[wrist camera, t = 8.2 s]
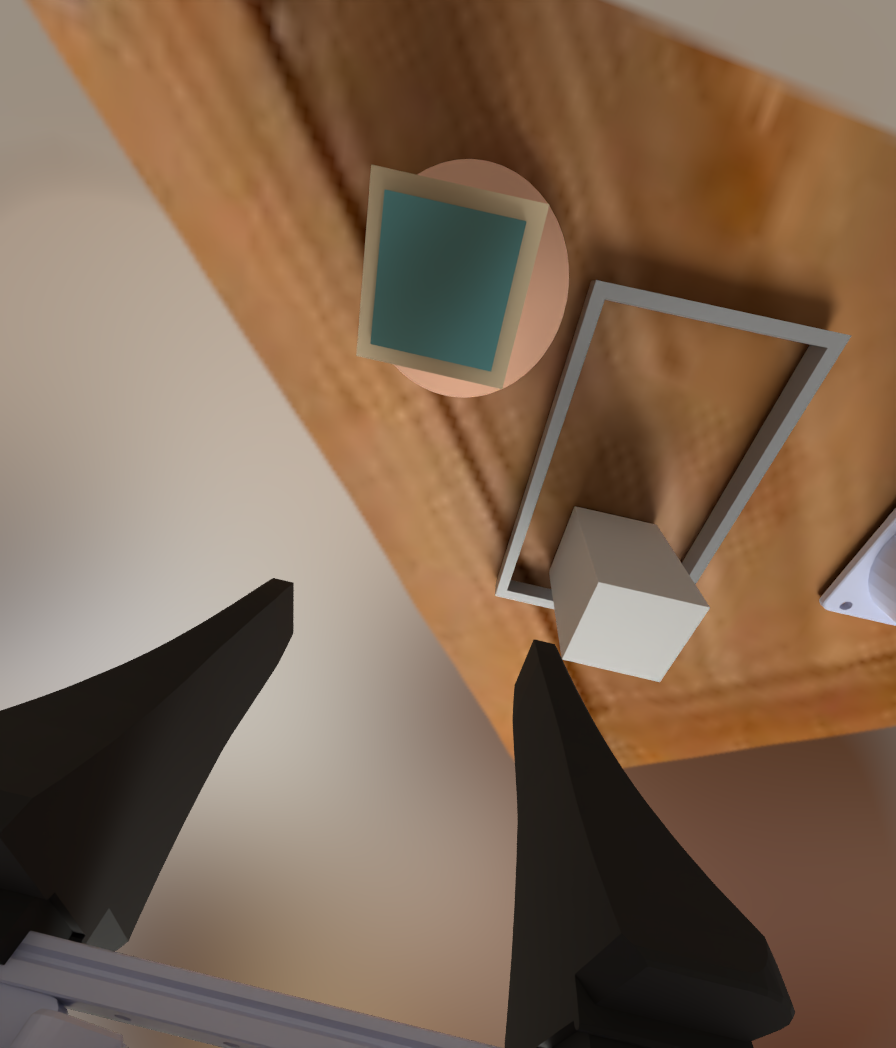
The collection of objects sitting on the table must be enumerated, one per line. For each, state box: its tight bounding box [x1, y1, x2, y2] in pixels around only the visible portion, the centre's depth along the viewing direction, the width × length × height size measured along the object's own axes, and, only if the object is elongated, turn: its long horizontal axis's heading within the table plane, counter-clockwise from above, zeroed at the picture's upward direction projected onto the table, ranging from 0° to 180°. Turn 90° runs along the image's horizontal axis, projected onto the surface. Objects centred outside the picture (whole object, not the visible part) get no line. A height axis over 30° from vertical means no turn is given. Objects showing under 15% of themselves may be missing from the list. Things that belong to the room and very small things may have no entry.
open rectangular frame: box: [495, 280, 851, 609], centre depth 18 cm, size 9×14×1 cm, turn 169°
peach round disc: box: [393, 159, 569, 397], centre depth 16 cm, size 8×8×1 cm
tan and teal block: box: [356, 165, 549, 389], centre depth 12 cm, size 4×4×6 cm
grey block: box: [549, 506, 710, 682], centre depth 18 cm, size 4×4×6 cm
